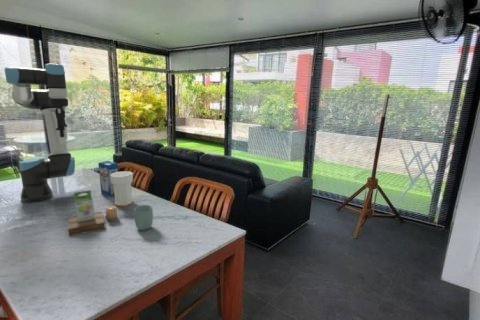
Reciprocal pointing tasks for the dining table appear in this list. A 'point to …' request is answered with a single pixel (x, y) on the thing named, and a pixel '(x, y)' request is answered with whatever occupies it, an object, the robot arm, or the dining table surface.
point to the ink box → (84, 206)
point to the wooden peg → (111, 213)
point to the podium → (85, 224)
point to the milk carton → (107, 177)
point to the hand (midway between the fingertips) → (63, 141)
